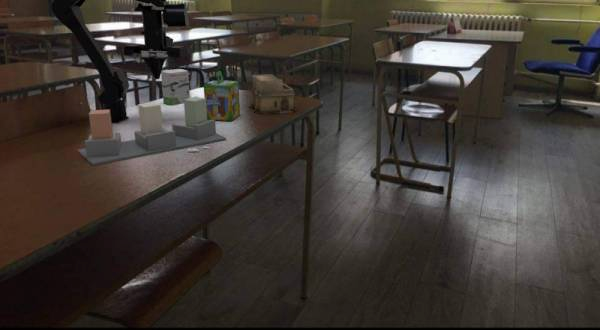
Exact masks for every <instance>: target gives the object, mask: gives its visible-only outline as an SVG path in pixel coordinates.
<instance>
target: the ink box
mask: <svg viewBox="0 0 600 330" xmlns="http://www.w3.org/2000/svg"><path fill="white" fill-rule="evenodd" d="M160 76H161V87H162V99H163V102H162V103H163V104H165V105H168V106H175V105H181V104H184V100H185V99H188V98H191V95H190V79H189V78H190V77H189V70H186V69H182V68H176V69H165V70H163V69H162V71H161V75H160Z"/></svg>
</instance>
